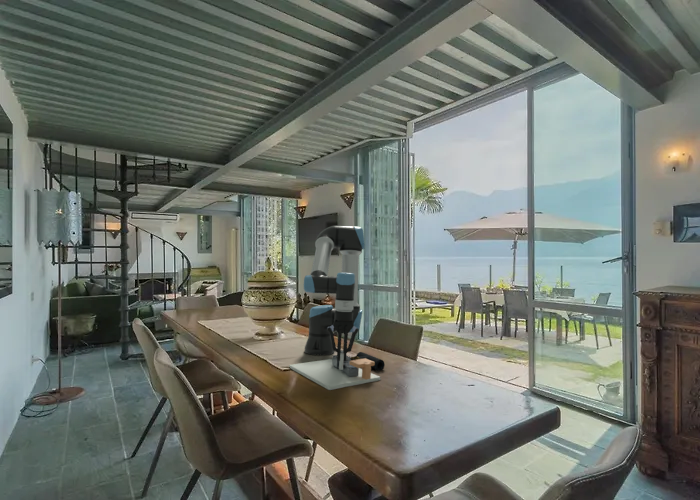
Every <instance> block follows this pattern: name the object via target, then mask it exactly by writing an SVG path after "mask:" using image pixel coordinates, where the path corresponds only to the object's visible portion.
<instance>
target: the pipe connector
mask: <svg viewBox="0 0 700 500" xmlns="http://www.w3.org/2000/svg"><path fill="white" fill-rule="evenodd" d="M365 358H366V359H368V360H371V361H374V362H375V365H374V366H371V370H375V371H378V372H379V371H383V370H384V369H385V360H383V359H381V358H378V357H375V356H373V355H371V354H369V353H366V352H363V351H359V352H357V353H356V356H352V357H350V361H352V360H358V359H365Z"/></svg>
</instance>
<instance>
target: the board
mask: <svg viewBox="0 0 700 500" xmlns="http://www.w3.org/2000/svg"><path fill="white" fill-rule="evenodd" d="M289 367H290V368H291V369H290V368H289ZM288 368H289V369H290V370H293V371H294V372H296V373H297V374H300V375H302V376H303V377H304V378H307V379H309V380H310V381H312V382H314V383H316V384H317V385H319V386H321V387H322V388H325V389H326V390H328V391H331V390H332V391H333V390H336V389H337V390H338V389H342V388H347V387H352V386H357V385H362V384H367V383H372V382H377V381H381V376H379V375H378V374H374V373H373V372H371V379H364V378H362V368H359V372H358V376H352V377H349V376H347V375H346V374H345V373H344V372H343V371H341V370H340V369H337V368H335V367H334V366H333V365H332V358H328V359H323V360H321V359H320V360H315V361H314V360H313V361H309V362H300V363H294V364H289V365H288Z"/></svg>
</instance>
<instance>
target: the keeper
mask: <svg viewBox="0 0 700 500" xmlns="http://www.w3.org/2000/svg"><path fill="white" fill-rule="evenodd" d="M349 364H350V365H352V366H354V367H357V368H360V369H362V378H364V379H371V373H372V368H371V366H374V365H375V362H374V361H371V360H368V359H366V358H365V359H358V360H352V361H351V360H350V362H349Z"/></svg>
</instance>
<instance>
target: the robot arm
mask: <svg viewBox="0 0 700 500" xmlns="http://www.w3.org/2000/svg"><path fill="white" fill-rule="evenodd" d="M314 246H315V253H314V257H313V262H312V267H311V270H310V274H309V275H305V276H304V278H303V291H304V292H306V293H311V294H332V295H333V294H335V300H334V301H335V302H334V303H335V304H334V306H333V305H331V304H325V305H317V306H312V307H310V309H309V316H308V319H309V320H308V321H309V322H308V338H307V340H306V343H305V346H304V353H306V354H308V355H312V356H330V355H334V354H335V353H336V355H337V361H339V369H340V370H343V361H346V355H347V354H348V353H350V352H352V349H353V346H354V342H355V338H356V335H357V334H358V333H359V332H360V328H361V324H362V323H361V322H362V317H363V316H362V315H363V311H364V310H363V309H361V305H360V304H359V303H358V291H359V289H358V286H359V284H358V283H359V263H360V262H359V259H360V258H359V257H360V255H361V254H362V253H363V250H365V247H366V245H365V237H364V229H363V227H361V226H355V225H353V226H351V225H331V226H328V227H326V228H325V229H323V230H322V231H320V232H319V234H318V235H317V237H316V238H315V242H314ZM334 249H339V253H340V255H341V272H337V274H336V275H335V276H334V275H331V276H330V275H329V274H328V273H329V267H330V261H331V255H332V251H333V250H334ZM334 332H335V333H337V343H336V341H335V335H334ZM349 333H350V334H351V336H350V339H349V342H348V338H349ZM342 336H343V347H342ZM336 344H337V346H336ZM341 350H343V352H341Z"/></svg>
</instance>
